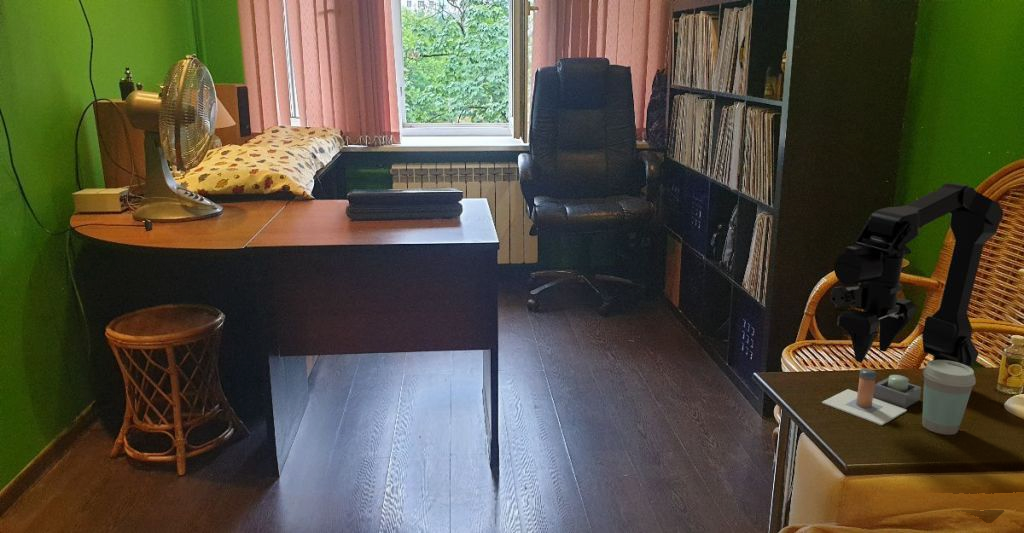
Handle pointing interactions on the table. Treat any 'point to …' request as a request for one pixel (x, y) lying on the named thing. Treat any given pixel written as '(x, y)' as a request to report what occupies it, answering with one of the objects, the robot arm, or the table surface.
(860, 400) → the marker
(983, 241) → the robot arm
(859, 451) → the table surface
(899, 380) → the button
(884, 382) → the button housing
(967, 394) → the coffee cup
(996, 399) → the table surface
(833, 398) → the paper
